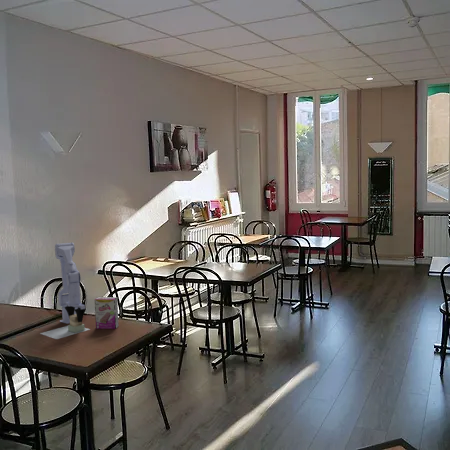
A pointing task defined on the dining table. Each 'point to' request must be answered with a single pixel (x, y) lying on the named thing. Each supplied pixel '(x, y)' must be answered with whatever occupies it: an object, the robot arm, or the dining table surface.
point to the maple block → (74, 320)
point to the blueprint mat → (60, 332)
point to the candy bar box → (106, 312)
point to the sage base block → (76, 328)
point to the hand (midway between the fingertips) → (75, 320)
